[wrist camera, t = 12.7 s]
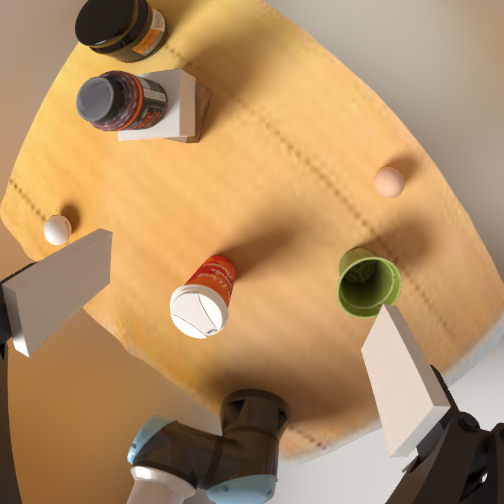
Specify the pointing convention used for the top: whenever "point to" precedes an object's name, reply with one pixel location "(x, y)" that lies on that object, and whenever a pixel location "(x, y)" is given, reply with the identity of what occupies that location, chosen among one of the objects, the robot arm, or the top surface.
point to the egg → (388, 182)
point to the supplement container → (121, 28)
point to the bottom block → (197, 114)
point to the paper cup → (204, 299)
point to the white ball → (57, 229)
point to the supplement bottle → (121, 102)
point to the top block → (170, 107)
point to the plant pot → (367, 283)
